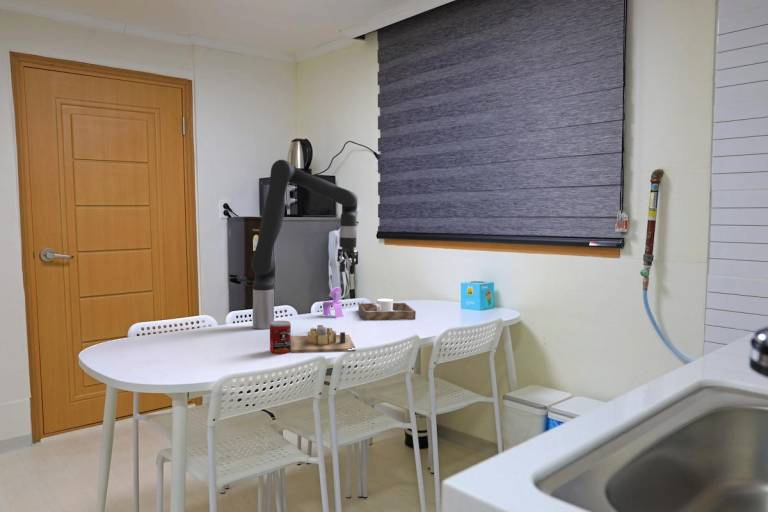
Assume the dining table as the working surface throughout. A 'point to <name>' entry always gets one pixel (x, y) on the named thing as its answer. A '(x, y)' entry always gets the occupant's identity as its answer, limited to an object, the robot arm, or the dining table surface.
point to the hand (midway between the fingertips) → (347, 272)
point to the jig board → (303, 346)
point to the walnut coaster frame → (386, 312)
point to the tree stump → (384, 305)
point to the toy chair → (334, 303)
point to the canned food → (280, 337)
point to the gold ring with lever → (321, 336)
